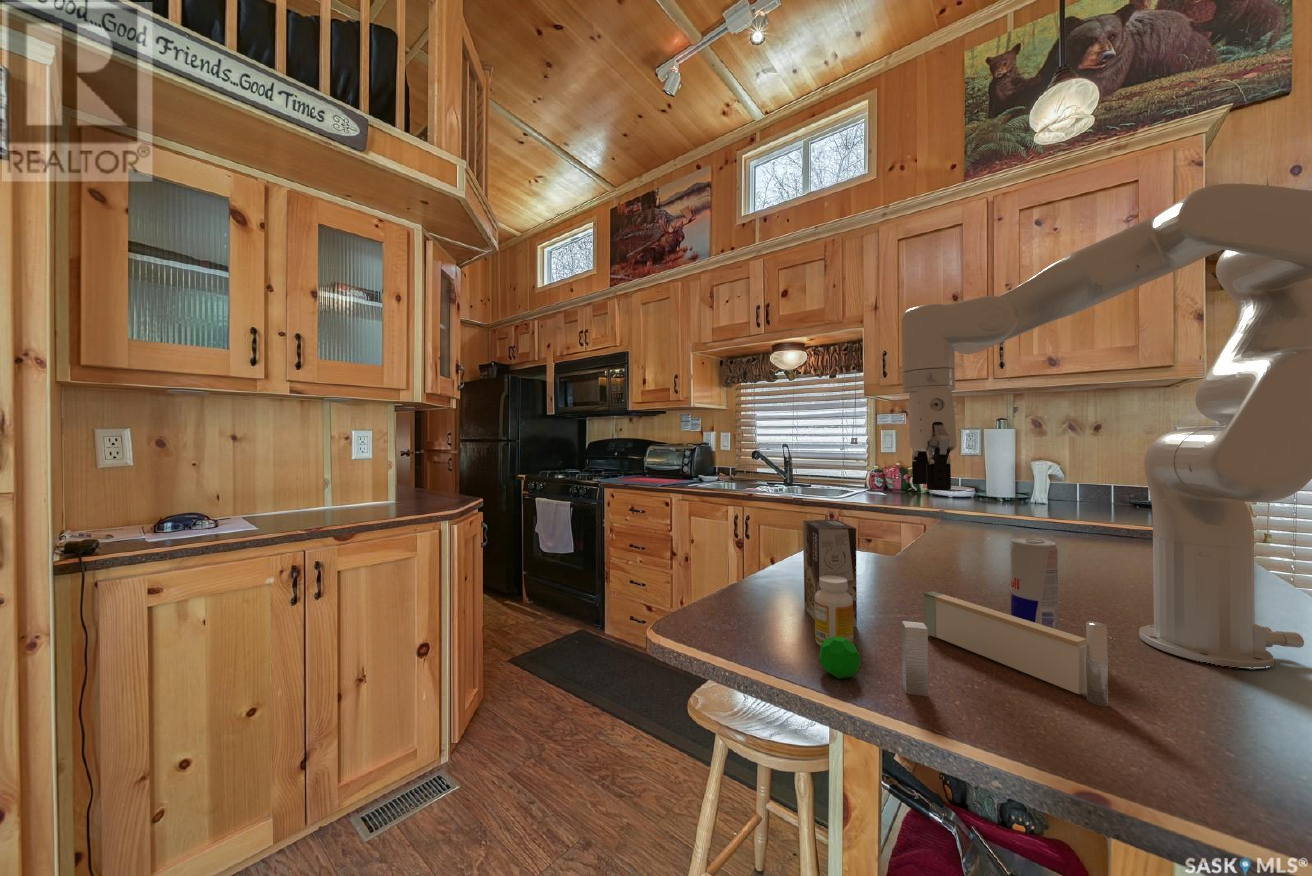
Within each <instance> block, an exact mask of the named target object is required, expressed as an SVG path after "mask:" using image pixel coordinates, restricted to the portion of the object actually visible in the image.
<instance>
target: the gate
mask: <svg viewBox="0 0 1312 876" xmlns="http://www.w3.org/2000/svg"><path fill="white" fill-rule="evenodd" d="M923 619H924V620H923V623H924V624H925V626H926V627H927V629H928V636H931V637H933V638H938V639H940V640H943V641H945V642H947V643H950V644H953V645H956V646H957V647H960V648H963V649H965V650H967V651H970V652H972V653H975V654H977V655H980V656H983V657H985V658H987V659H990V660H993V661H995V662H997V663H1000V664H1002V665H1005V666H1008V667H1009V668H1013V669H1014V670H1017V671H1020V672H1021V673H1024V674H1028V675H1029V676H1032V677H1035V678H1037V679H1040V680H1042V681H1045V682H1046V683H1047V682H1048V683H1050V684H1052V685H1055V686H1058V687H1060V688H1062V689H1065V690H1067V691H1070V692H1072V693H1075V694H1077V695H1081V694H1083V693H1087V652H1086V638H1085V637H1082V636H1079V635H1076V634H1072V633H1069V632H1066V631H1063V630H1060V629H1058V630H1057V629H1053V628H1050V627H1047V626H1044V625H1041V624H1037V623H1034V622H1031V621H1028V620H1024V619H1021V618H1018V617H1015V616H1012V615H1011V614H1008V613H1006V612H1005V613H1004V612H1001V611H998V610H996V609H992V608H989V607H985V606H982V605H978V604H975V603H972V602H969V601H966V600H963V599H960V598H956V597H952V596H950V595H948V594H943V593H940V592H937V591H934V590H931V591H927V592H923Z"/></svg>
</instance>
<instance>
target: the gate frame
mask: <svg viewBox="0 0 1312 876" xmlns="http://www.w3.org/2000/svg"><path fill="white" fill-rule="evenodd" d="M1085 626H1086V627H1085V631H1086V632H1085V635H1086V636H1085V637H1086V690H1087V691H1086V700H1087V702H1088V703H1090V704H1092V705H1094V706H1098V707H1108V706H1109V672H1108V671H1109V669H1108V667H1109V665H1108V663H1109V662H1108V659H1109V657H1108V654H1109V653H1108V650H1109V649H1108V648H1109V647H1108V625H1107V624H1105V623H1103V622H1100V621H1099V622H1098V621H1094V620H1093V621H1092V620H1091V621H1090V620H1089V621H1088V620H1087V621H1085ZM928 638H929V635H928V629H927V627H926V626H925V624H924V622H917V621H907V620H902V621H901V644H902V645H901V650H902V651H901V653H902V656H901V657H902V660H901V661H902V662H901V663H902V664H901V665H902V666H901V667H902V688H903V690H904V692H905V694H906V695H913V696H923V697H929V639H928Z"/></svg>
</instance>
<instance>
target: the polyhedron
mask: <svg viewBox="0 0 1312 876" xmlns="http://www.w3.org/2000/svg"><path fill="white" fill-rule="evenodd" d="M818 659H819V662H820V663H821V666H822V668H823V670H824V671H826V672H827V673H829V674H830V675H832V676H833V677H835V678H837V679H848V678H852V677H853V676H854V675H855V674H856V673H857V672H858V671H859V670H860V669H859V668H860V666H861V656H860V653H859V652H858V650H857V648H856V646H855V643H854V642H853V643H851V642H850V641H848V640H846V639H844V638H843V637H841V636H839V637H831V638H828V639H826V640H825V641H824V642H823V643H822V644H821V646H820V647H819V655H818Z"/></svg>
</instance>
